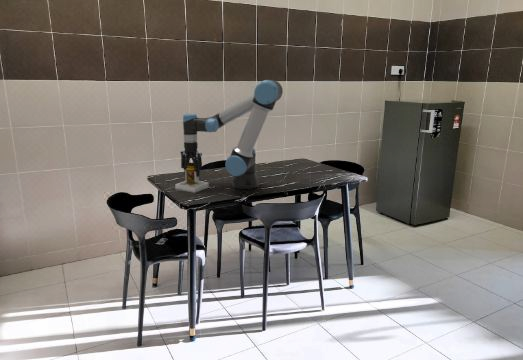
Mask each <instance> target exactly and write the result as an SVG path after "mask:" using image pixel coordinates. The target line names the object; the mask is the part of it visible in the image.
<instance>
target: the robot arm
mask: <svg viewBox="0 0 523 360" xmlns="http://www.w3.org/2000/svg"><path fill="white" fill-rule="evenodd" d="M253 91H254V92H253V94H251V95H250V96H247V97H246V98H244V99H242V100H240V101H239V102H236V103H235V104H233V105H231V106H229V107H227V108H225V109H224V110H221V111H220V112H219V113H216V114H215V115H212V116H209V117H198V115H197V114H196V113H185V114H183V115H182V125H183V147H184V150H182V151H180V159H181V160H180V168H181V169H183V173H184V177H185V180H184V181H187V177H186V168H187V163H190V160H192V163H194V167H195V171H194V175H195V183H196V182H199V181H200V180H199V177H200V171H202V170H203V165H202V164H203V163H202V162H203V161H202V155H203V153H202V152H199V151H198V132H203V133H205V132H206V133H216V132H217V131H218V130H219V129H221V128H222V127H223V126H225V125H227V124H229V123H230V122H233V121H235V120H237V119H238V118H240V117H242V116H244V115H246V114H248V113H249V112H250V113H249V115H248V118H247V121H246V124H245V126H244V128H243V131H242V133H241V136H240V137H239V141H238V142H237V143H238V144H237V145H236V146H233V148H232V150H231V153H230V155H229V156H228V157H227V159H226V161H225V164H224V165H225V166H224V167H225V170H226V171H227V172H228V173H229V174H230V175H231V176H234V178H233V181H232V188H233V189H236V188H237V190H243V189H248V190H254V189H253V188H255V189H257V188H258V187H259V181H258V177H257V174H256V157H257V156H256V154H257V153H256V149H255V148H254V147H255V145H256V143H257V140H258V138H259V136H260V133H261V131H262V129H263V126H264V124H265V122H266V119H267V117H268V114H269V112H272V111H273V110H274V107H275V105H276V103H277V101H279V100H280V99H281V97H282V96H283V87H282V84H281V83H280V82H278V81H276V80H274V79H265V80H262V81H260V82H258V84H256V86H255V87H254V90H253ZM256 187H257V188H256Z"/></svg>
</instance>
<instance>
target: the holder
mask: <svg viewBox="0 0 523 360" xmlns="http://www.w3.org/2000/svg"><path fill="white" fill-rule="evenodd" d="M184 182H187V181H186V180H184V181H181V182H179V183H175V185H174V186H175V188H174V189H175V191H176V190H177V191H182V192H188V193H192V194H196V193H199V192H200V191H204V190H206V189H208V188H210V186H209V184H210V183H209V182H207V181H200V180H199V184H196V185H187V184H183V183H184Z"/></svg>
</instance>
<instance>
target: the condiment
mask: <svg viewBox="0 0 523 360" xmlns="http://www.w3.org/2000/svg"><path fill="white" fill-rule="evenodd" d="M194 171H195V167H194V163H193V162H189V163H187V168H186V177H187V182H184V181H183V182H184V183H183V184H187V185H196V184H199V182H196V183H195V175H194Z"/></svg>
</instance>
